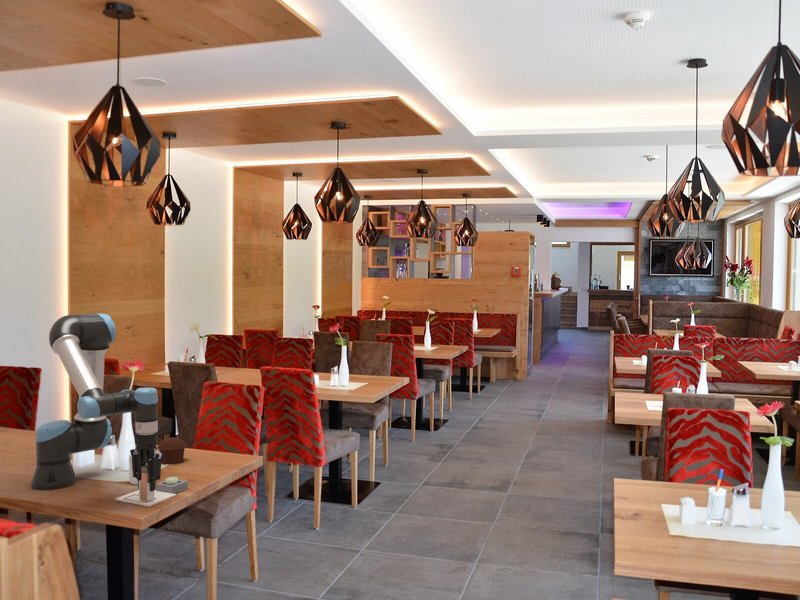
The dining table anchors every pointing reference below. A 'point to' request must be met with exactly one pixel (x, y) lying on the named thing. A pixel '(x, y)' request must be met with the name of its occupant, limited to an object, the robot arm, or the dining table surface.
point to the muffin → (172, 450)
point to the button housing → (172, 487)
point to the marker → (144, 482)
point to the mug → (131, 478)
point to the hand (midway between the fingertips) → (146, 498)
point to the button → (171, 480)
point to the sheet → (135, 499)
